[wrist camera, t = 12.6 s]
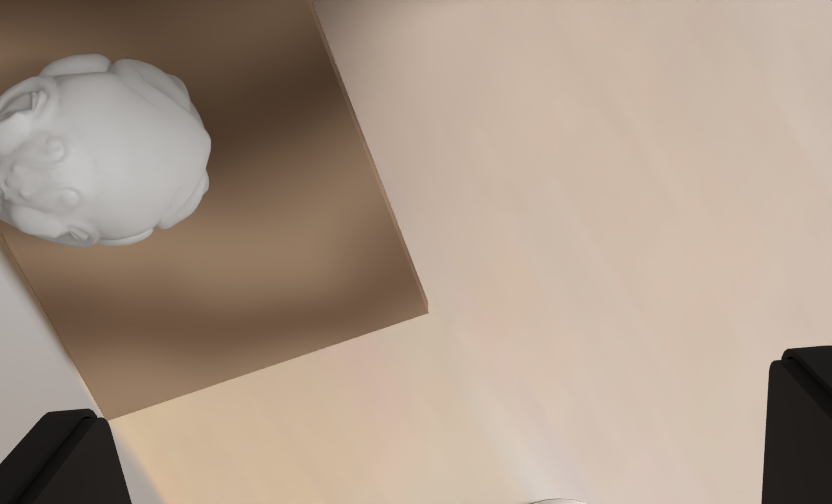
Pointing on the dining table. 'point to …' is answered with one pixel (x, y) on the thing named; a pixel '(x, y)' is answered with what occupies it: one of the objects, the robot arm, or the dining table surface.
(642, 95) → the dining table surface
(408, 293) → the walnut shelf
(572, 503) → the cylindrical container
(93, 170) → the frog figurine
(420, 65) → the dining table surface
